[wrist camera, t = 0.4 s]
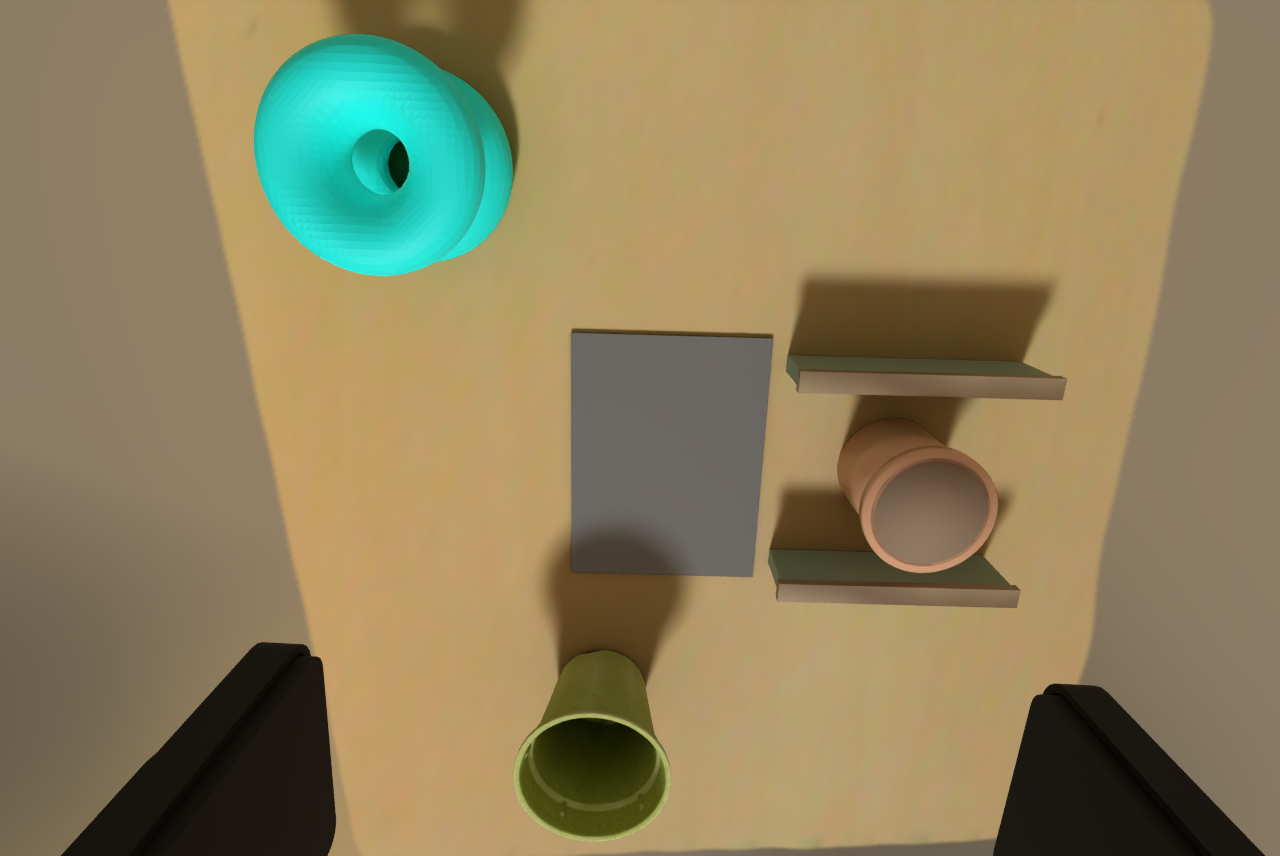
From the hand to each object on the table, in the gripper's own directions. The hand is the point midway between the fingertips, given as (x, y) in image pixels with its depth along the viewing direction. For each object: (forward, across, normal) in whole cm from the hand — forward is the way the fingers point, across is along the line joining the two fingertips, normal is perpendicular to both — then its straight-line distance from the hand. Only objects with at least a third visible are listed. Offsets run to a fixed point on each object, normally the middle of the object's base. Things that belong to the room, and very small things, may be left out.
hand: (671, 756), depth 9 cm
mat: (+35, -2, +8) cm, 36 cm away
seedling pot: (+35, -16, +8) cm, 39 cm away
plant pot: (+35, +2, +25) cm, 43 cm away
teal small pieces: (+34, +13, -9) cm, 38 cm away
